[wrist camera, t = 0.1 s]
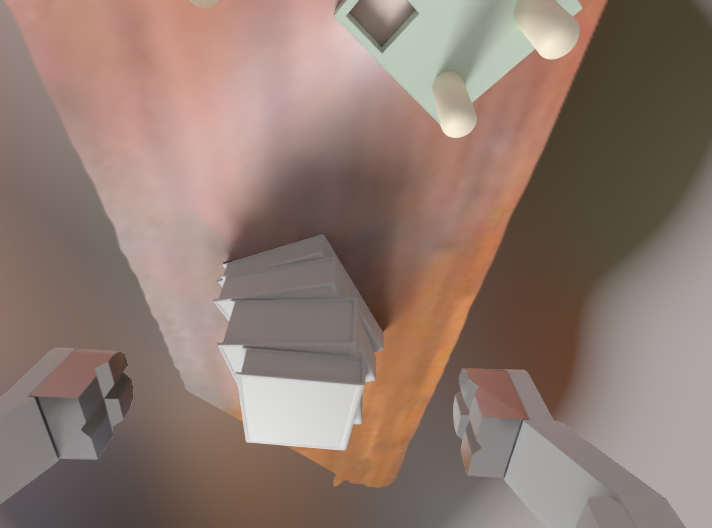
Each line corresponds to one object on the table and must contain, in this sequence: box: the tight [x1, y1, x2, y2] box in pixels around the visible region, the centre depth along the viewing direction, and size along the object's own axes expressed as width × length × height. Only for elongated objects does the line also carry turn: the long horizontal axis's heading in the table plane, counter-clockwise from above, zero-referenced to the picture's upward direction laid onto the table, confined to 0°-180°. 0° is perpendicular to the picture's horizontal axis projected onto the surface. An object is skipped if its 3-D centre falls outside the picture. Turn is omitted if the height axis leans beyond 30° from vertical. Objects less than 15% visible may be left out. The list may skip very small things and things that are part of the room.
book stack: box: [213, 234, 384, 450], centre depth 81 cm, size 30×35×26 cm
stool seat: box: [334, 0, 582, 138], centre depth 46 cm, size 20×20×12 cm
